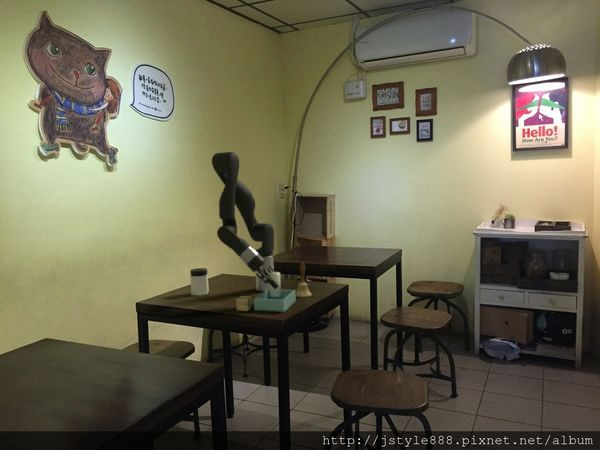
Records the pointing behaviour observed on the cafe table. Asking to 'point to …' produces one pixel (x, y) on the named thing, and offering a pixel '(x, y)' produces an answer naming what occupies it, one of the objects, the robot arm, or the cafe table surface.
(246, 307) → the cube
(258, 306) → the tote
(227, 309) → the cafe table surface
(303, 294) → the hand bell
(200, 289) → the jar
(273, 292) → the cylinder
